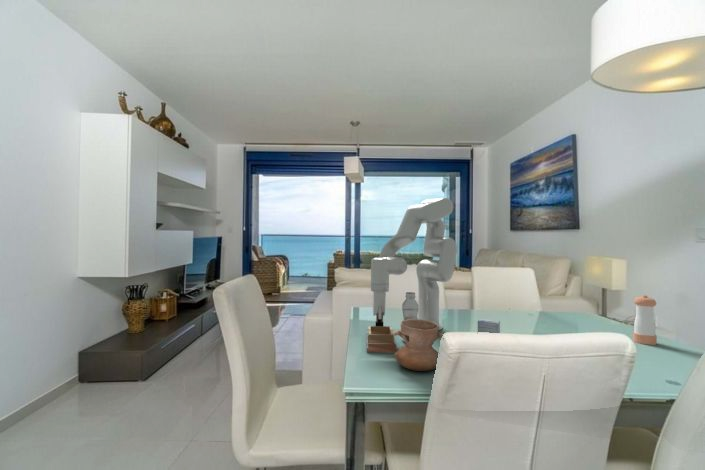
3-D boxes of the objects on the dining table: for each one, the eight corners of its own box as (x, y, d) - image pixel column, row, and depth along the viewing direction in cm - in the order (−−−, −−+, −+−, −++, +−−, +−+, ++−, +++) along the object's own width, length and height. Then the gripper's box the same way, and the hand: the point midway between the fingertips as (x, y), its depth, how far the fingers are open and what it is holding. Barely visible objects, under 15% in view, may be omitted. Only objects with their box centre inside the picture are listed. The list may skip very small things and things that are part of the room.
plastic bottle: (418, 346, 131) (419, 294, 131) (401, 345, 132) (401, 293, 133) (419, 341, 137) (419, 292, 138) (402, 340, 139) (402, 291, 139)
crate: (368, 336, 140) (368, 325, 140) (391, 337, 140) (391, 326, 140) (368, 346, 128) (368, 334, 128) (393, 347, 127) (393, 335, 127)
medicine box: (500, 342, 137) (500, 320, 137) (498, 345, 134) (498, 323, 134) (479, 339, 142) (479, 318, 142) (477, 341, 138) (477, 320, 138)
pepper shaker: (657, 342, 139) (657, 295, 139) (655, 346, 134) (656, 297, 134) (634, 338, 144) (634, 293, 144) (632, 342, 139) (632, 295, 139)
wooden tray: (366, 335, 146) (366, 326, 146) (392, 335, 145) (392, 326, 145) (366, 354, 122) (366, 343, 122) (397, 355, 121) (397, 344, 121)
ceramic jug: (391, 373, 105) (393, 327, 105) (392, 356, 119) (393, 316, 119) (451, 378, 103) (453, 331, 103) (445, 360, 117) (446, 319, 117)
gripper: (370, 284, 150) (370, 326, 150) (370, 290, 135) (370, 336, 135) (387, 285, 150) (387, 326, 150) (389, 290, 135) (389, 336, 135)
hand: (379, 331), depth 142 cm, fingers closed
